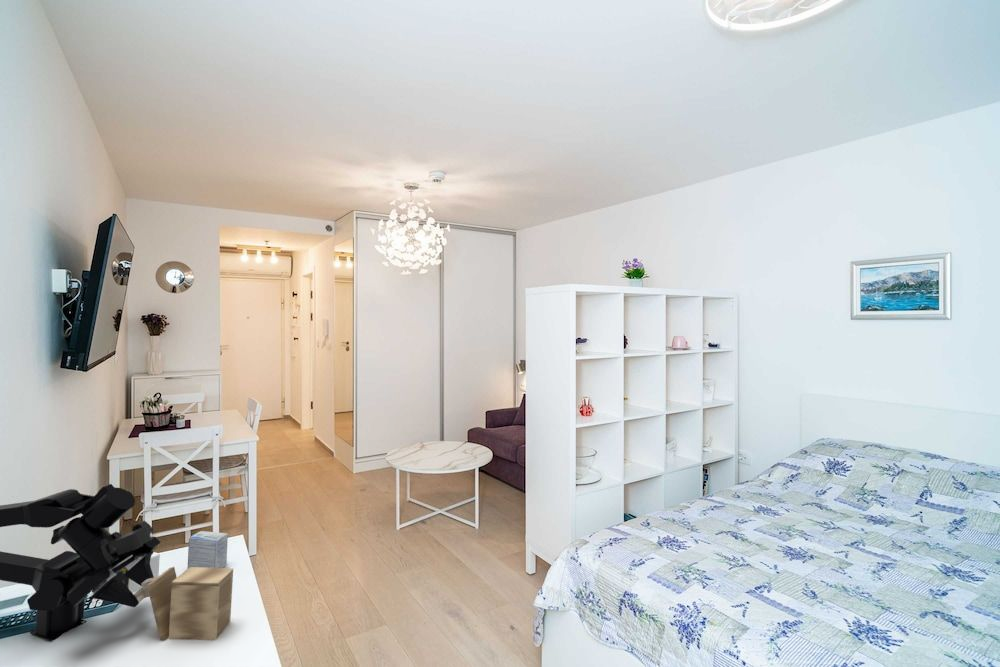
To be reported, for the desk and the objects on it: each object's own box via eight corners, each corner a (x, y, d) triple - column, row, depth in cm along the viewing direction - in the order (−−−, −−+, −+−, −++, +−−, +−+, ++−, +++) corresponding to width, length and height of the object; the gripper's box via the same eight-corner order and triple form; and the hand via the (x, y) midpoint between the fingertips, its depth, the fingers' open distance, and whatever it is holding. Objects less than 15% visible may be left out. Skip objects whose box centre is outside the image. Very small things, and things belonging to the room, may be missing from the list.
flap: (138, 646, 96) (125, 590, 95) (162, 624, 102) (149, 572, 102) (165, 639, 96) (152, 583, 96) (186, 618, 103) (174, 566, 103)
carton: (168, 641, 96) (171, 581, 96) (186, 623, 102) (189, 567, 102) (214, 643, 97) (218, 583, 97) (230, 624, 103) (233, 568, 103)
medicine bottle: (107, 589, 113) (110, 538, 113) (139, 575, 120) (141, 527, 120) (127, 597, 111) (130, 544, 111) (158, 582, 117) (161, 533, 117)
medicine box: (227, 565, 127) (228, 533, 127) (215, 574, 123) (217, 540, 123) (199, 562, 128) (200, 530, 128) (186, 571, 123) (188, 537, 123)
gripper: (86, 534, 89) (145, 595, 90) (153, 499, 108) (202, 550, 109) (40, 575, 89) (99, 636, 90) (115, 533, 108) (164, 584, 108)
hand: (146, 597), depth 99 cm, fingers closed on flap, 5 cm apart
